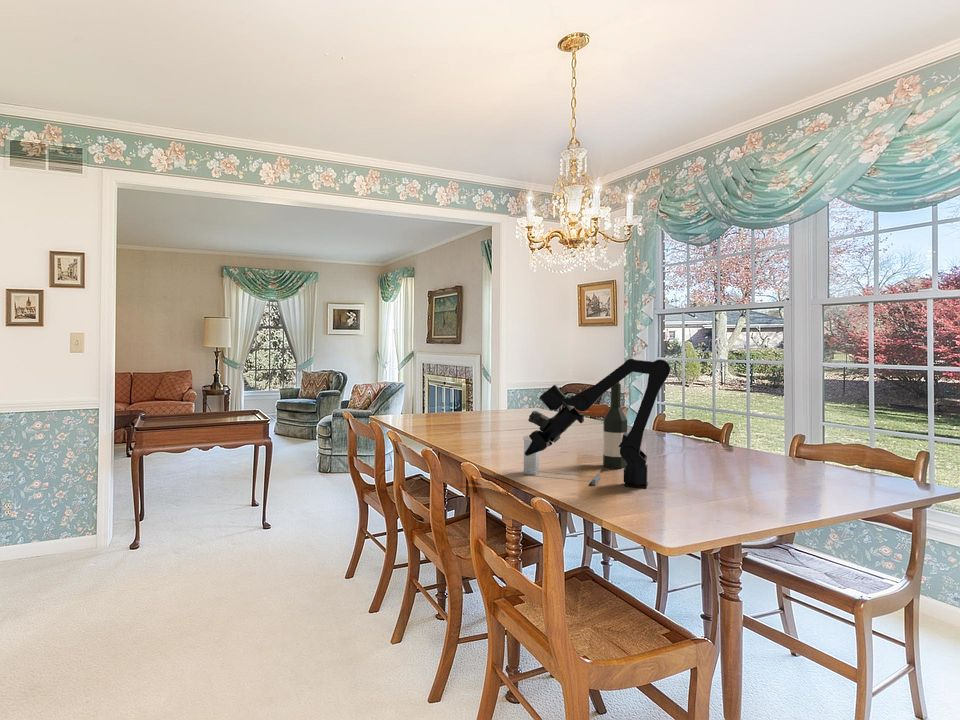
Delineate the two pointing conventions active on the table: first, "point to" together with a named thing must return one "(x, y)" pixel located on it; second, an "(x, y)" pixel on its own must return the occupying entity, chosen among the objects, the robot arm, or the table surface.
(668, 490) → the table surface
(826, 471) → the table surface
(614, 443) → the wine bottle
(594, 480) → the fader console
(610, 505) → the table surface
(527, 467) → the post
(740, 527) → the table surface
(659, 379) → the robot arm
